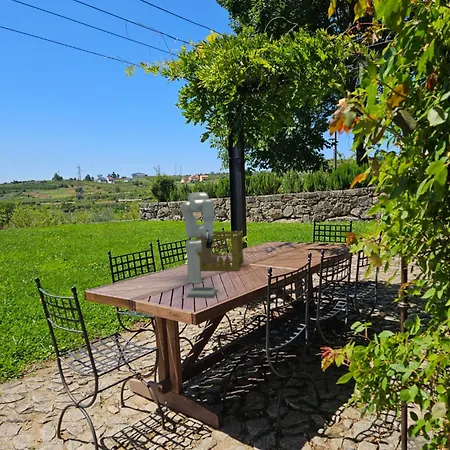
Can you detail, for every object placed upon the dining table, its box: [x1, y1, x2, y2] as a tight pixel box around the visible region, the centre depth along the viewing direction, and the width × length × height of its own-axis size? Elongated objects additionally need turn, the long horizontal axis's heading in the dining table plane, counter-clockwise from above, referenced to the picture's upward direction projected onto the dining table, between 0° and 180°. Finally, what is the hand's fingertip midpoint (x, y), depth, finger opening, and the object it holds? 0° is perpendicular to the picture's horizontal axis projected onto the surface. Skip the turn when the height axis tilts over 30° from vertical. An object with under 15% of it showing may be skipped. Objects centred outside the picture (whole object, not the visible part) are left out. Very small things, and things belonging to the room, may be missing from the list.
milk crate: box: [195, 230, 244, 272], centre depth 346 cm, size 36×36×30 cm
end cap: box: [186, 286, 219, 299], centre depth 256 cm, size 16×17×4 cm
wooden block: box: [201, 235, 218, 265], centre depth 253 cm, size 9×4×18 cm, turn 60°
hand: (209, 247), depth 253 cm, fingers closed on wooden block, 5 cm apart
